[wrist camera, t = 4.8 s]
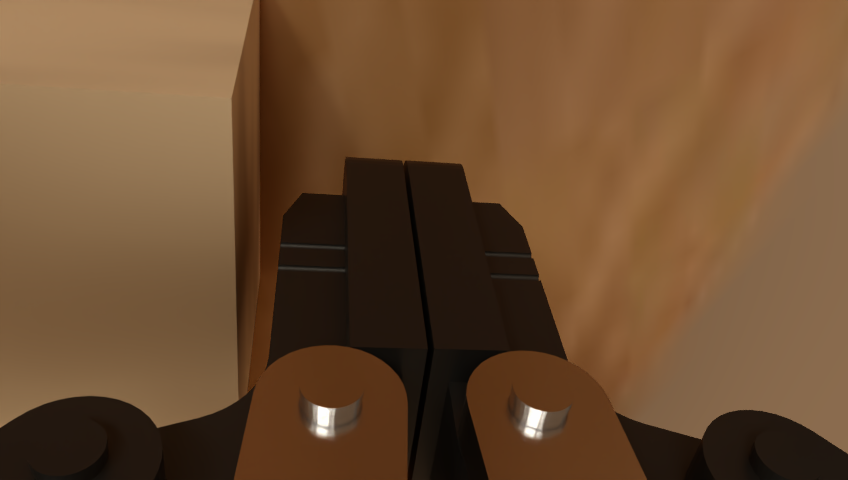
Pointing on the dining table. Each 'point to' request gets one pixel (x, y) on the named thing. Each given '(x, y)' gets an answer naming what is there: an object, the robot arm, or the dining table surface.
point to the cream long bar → (129, 203)
